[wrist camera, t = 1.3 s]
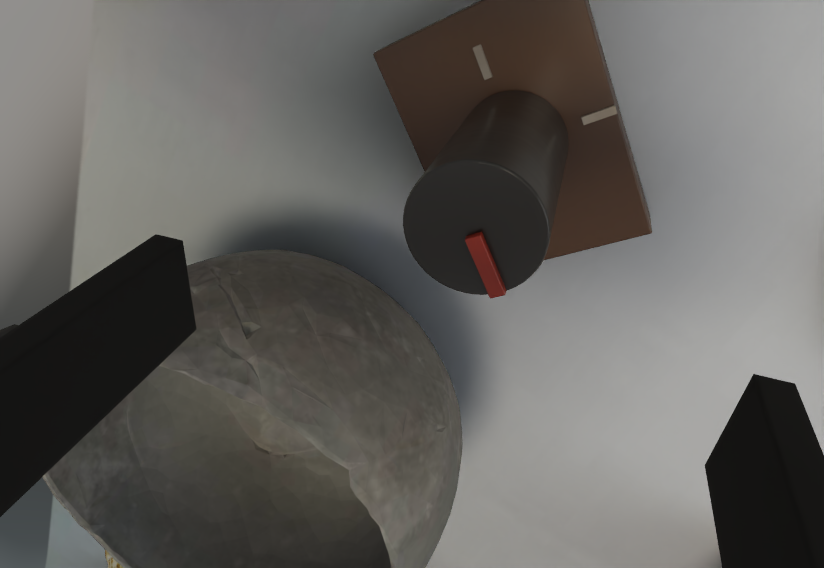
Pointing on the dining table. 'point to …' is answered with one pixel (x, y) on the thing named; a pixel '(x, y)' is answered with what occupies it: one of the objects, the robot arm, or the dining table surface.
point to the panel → (535, 73)
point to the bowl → (276, 431)
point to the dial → (490, 196)
